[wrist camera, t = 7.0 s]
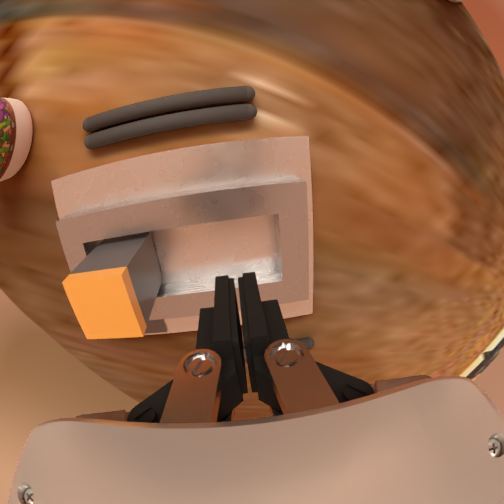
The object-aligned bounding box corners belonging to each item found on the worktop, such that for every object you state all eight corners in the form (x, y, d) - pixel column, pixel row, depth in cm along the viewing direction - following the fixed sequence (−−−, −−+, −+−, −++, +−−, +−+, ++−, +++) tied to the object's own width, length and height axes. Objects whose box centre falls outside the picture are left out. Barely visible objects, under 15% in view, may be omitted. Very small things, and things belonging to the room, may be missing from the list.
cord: (89, 150, 17) (82, 151, 16) (86, 119, 16) (79, 119, 15) (256, 119, 18) (258, 118, 17) (253, 87, 17) (255, 83, 16)
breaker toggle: (104, 239, 19) (62, 282, 12) (150, 231, 19) (121, 274, 13) (117, 284, 20) (87, 339, 14) (162, 279, 21) (143, 336, 14)
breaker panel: (60, 177, 18) (37, 185, 15) (302, 136, 19) (318, 135, 16) (106, 327, 24) (95, 350, 20) (307, 304, 25) (319, 326, 22)
